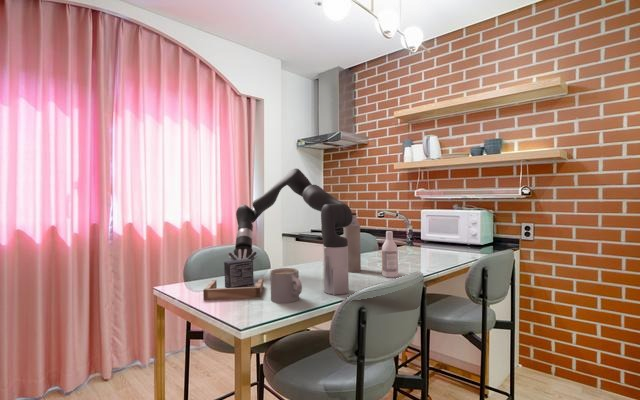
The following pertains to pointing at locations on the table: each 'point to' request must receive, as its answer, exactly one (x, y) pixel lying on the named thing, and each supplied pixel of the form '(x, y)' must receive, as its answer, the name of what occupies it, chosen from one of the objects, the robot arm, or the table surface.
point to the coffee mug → (285, 285)
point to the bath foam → (389, 256)
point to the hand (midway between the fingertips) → (241, 271)
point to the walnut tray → (232, 291)
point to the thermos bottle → (353, 244)
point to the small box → (238, 273)
